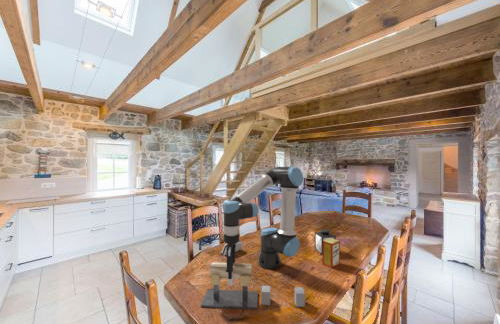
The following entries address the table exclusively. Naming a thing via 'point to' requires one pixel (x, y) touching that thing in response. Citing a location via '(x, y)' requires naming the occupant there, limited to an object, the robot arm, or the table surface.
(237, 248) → the grey curved block
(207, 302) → the bracket stand
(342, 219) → the table surface
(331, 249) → the baking soda box
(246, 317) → the table surface
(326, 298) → the table surface
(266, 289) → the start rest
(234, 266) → the beige long block
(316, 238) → the lantern
